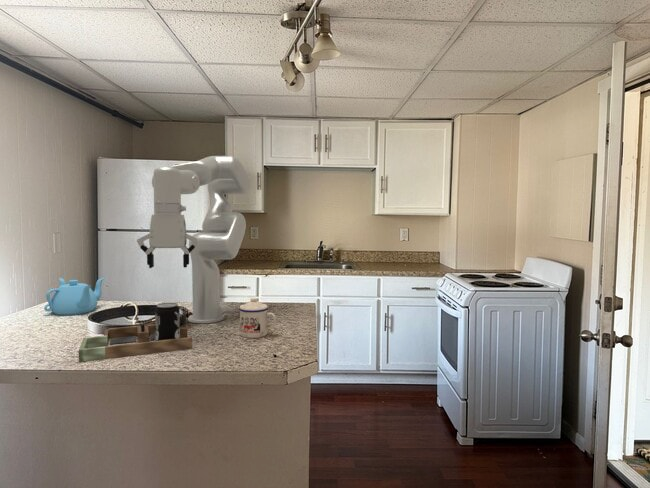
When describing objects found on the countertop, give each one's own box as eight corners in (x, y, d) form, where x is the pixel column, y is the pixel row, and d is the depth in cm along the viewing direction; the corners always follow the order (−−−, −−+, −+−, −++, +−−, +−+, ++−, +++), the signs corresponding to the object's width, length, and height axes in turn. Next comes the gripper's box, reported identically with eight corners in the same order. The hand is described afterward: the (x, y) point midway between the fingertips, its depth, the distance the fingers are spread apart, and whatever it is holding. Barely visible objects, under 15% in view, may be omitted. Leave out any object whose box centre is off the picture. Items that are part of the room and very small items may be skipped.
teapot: (106, 305, 174) (105, 276, 174) (91, 316, 156) (90, 283, 155) (60, 306, 171) (59, 277, 170) (39, 318, 153) (38, 284, 152)
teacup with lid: (234, 337, 131) (234, 300, 130) (245, 329, 140) (245, 295, 139) (271, 340, 128) (271, 302, 128) (280, 332, 137) (280, 296, 136)
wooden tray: (184, 330, 138) (184, 321, 138) (192, 348, 120) (191, 338, 120) (86, 340, 126) (86, 330, 126) (79, 361, 108) (78, 350, 108)
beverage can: (172, 349, 119) (171, 307, 118) (151, 347, 120) (150, 306, 119) (184, 342, 125) (183, 302, 125) (164, 340, 127) (163, 301, 126)
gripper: (199, 210, 130) (199, 265, 131) (139, 209, 127) (140, 266, 128) (196, 210, 123) (197, 268, 124) (133, 209, 119) (134, 269, 120)
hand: (168, 267), depth 126 cm, fingers open, 9 cm apart
